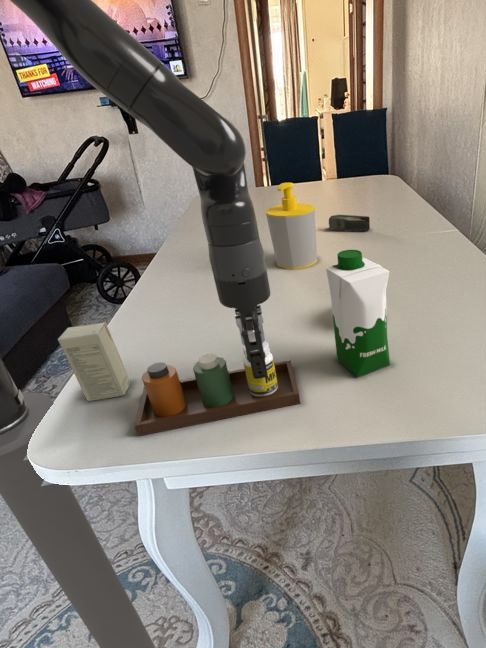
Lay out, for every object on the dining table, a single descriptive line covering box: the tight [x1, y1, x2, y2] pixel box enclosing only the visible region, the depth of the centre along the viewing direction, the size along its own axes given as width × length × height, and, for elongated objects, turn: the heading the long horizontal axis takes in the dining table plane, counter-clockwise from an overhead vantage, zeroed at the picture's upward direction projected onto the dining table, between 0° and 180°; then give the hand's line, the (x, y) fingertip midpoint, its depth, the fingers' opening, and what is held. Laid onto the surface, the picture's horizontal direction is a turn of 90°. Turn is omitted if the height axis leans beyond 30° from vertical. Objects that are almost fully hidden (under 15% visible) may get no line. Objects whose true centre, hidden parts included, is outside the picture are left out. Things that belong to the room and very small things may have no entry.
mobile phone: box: [324, 214, 371, 232], centre depth 154 cm, size 5×3×15 cm
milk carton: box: [325, 249, 391, 378], centre depth 80 cm, size 9×9×20 cm
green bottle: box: [192, 353, 234, 407], centre depth 75 cm, size 5×5×8 cm
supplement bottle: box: [242, 340, 278, 397], centre depth 76 cm, size 5×5×8 cm
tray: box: [134, 359, 301, 437], centre depth 77 cm, size 25×11×2 cm, turn 105°
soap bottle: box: [265, 182, 318, 270], centre depth 127 cm, size 13×13×21 cm
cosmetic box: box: [57, 321, 131, 402], centre depth 78 cm, size 6×4×12 cm
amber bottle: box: [141, 362, 186, 417], centre depth 73 cm, size 5×5×8 cm
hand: (259, 367), depth 76 cm, fingers open, 5 cm apart
